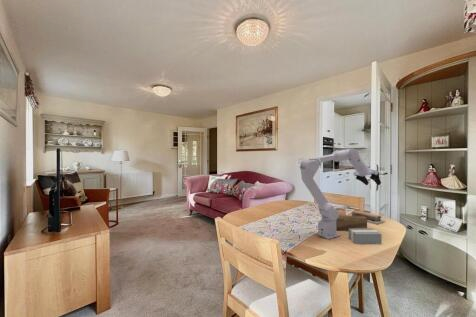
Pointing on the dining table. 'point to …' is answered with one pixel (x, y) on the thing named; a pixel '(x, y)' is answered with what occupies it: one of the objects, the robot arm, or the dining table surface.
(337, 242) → the dining table surface
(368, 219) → the packaged product
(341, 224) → the display podium
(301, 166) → the robot arm
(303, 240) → the dining table surface
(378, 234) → the carton
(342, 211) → the plant pot
